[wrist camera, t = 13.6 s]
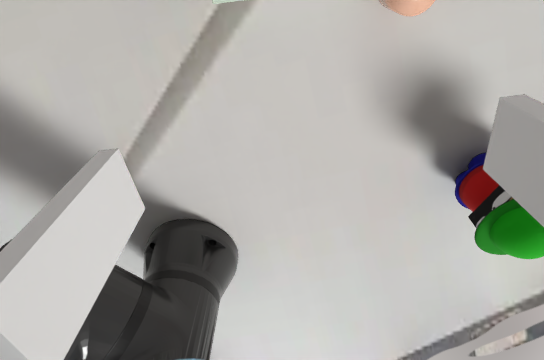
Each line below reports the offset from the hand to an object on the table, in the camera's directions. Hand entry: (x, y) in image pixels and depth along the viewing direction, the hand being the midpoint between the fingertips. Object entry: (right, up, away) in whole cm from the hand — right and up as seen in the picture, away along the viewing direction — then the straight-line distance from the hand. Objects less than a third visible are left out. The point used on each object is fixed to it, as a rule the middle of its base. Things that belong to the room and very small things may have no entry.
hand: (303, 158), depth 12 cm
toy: (+26, +1, +33) cm, 42 cm away
